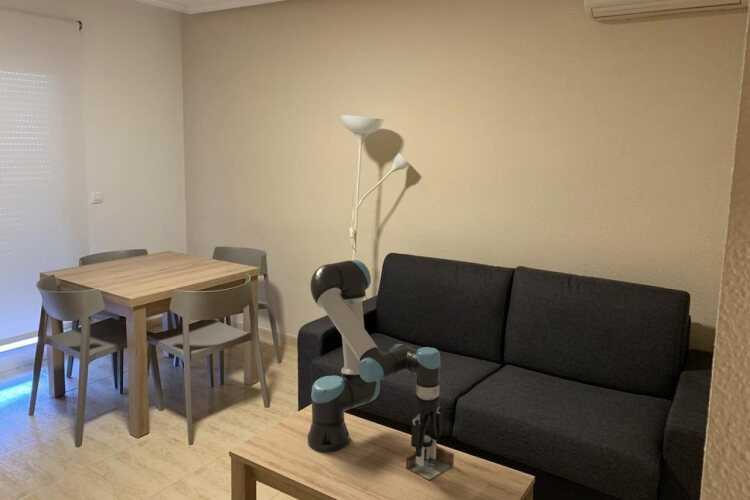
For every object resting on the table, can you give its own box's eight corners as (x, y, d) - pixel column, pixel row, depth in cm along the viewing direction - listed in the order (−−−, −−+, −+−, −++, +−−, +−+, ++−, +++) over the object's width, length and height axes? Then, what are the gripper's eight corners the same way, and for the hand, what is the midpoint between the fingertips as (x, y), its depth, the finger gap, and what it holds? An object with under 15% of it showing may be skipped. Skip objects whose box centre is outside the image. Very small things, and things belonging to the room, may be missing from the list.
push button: (436, 466, 197) (439, 437, 196) (430, 472, 193) (433, 442, 192) (418, 461, 200) (421, 432, 200) (411, 466, 196) (414, 437, 195)
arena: (406, 468, 200) (406, 456, 199) (430, 454, 209) (430, 442, 208) (429, 480, 193) (429, 468, 192) (453, 465, 202) (453, 453, 201)
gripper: (417, 408, 183) (416, 476, 188) (454, 390, 196) (452, 454, 201) (399, 400, 189) (398, 467, 193) (436, 383, 201) (434, 446, 206)
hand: (426, 460), depth 197 cm, fingers closed on push button, 5 cm apart
